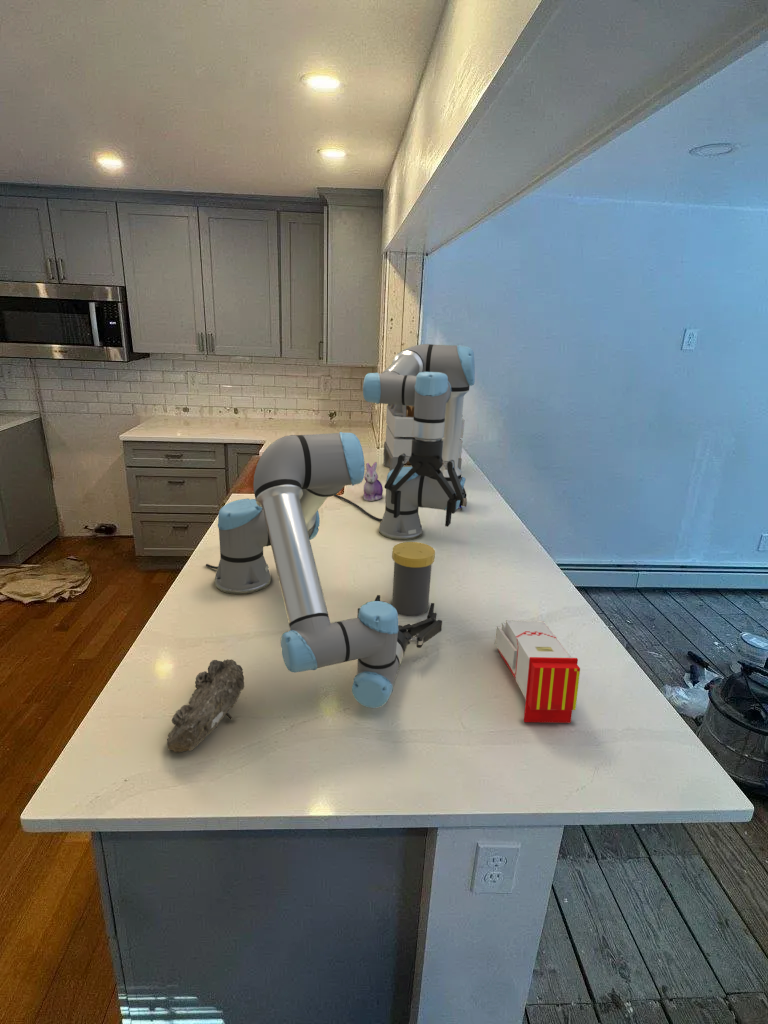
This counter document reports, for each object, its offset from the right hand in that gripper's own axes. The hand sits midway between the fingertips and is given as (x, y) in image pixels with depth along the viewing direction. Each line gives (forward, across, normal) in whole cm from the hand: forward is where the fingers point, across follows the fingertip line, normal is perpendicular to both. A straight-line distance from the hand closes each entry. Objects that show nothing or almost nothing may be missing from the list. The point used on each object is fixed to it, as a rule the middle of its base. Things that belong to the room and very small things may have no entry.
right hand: (421, 520), depth 144 cm
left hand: (+18, 0, +10) cm, 21 cm away
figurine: (+24, +44, -79) cm, 94 cm away
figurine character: (+24, +10, -85) cm, 89 cm away
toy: (+24, -32, +21) cm, 46 cm away
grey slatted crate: (+24, +38, -125) cm, 133 cm away
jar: (+24, +1, +1) cm, 24 cm away
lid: (+8, +1, +1) cm, 8 cm away
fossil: (+25, +23, +58) cm, 67 cm away
